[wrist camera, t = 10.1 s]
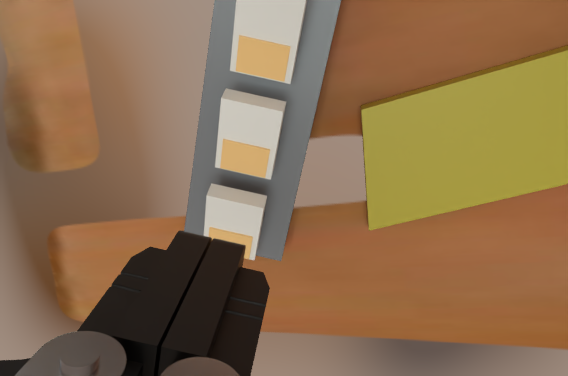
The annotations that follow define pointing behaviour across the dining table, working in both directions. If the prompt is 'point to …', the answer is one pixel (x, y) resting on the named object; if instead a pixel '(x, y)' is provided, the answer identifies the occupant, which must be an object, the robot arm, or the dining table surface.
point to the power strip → (294, 127)
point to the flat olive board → (467, 140)
